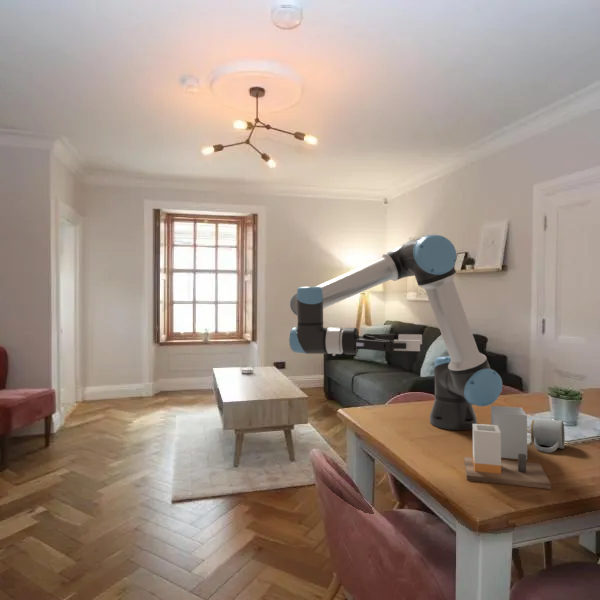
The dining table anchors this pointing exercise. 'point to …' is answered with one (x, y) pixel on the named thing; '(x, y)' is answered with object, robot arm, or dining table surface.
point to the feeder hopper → (511, 430)
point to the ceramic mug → (548, 434)
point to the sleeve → (487, 448)
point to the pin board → (511, 473)
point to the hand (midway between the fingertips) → (421, 342)
